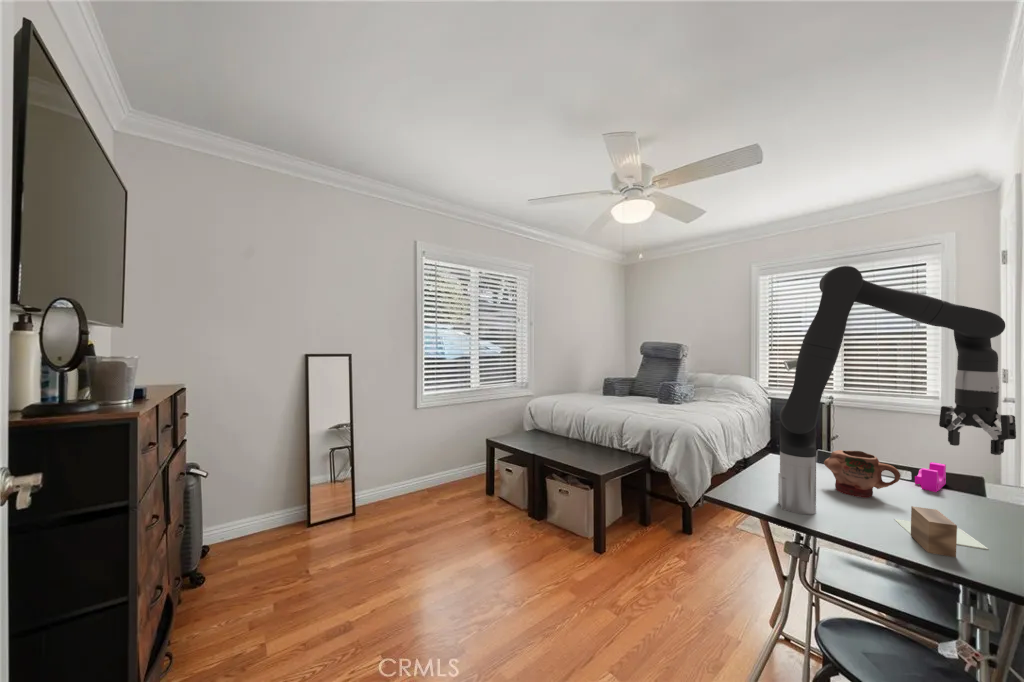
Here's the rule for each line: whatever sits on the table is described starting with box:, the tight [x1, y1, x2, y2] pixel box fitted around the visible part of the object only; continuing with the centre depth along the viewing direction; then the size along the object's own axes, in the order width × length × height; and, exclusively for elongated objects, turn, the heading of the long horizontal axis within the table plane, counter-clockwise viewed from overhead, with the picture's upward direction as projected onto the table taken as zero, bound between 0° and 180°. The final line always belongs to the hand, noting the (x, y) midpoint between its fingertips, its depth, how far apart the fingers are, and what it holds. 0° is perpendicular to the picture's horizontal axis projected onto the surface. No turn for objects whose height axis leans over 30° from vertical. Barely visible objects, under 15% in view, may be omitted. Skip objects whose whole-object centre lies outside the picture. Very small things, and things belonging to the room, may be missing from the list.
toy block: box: [914, 462, 947, 493], centre depth 146 cm, size 15×6×8 cm, turn 124°
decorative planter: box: [823, 449, 902, 499], centre depth 137 cm, size 20×12×14 cm, turn 42°
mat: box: [893, 518, 989, 551], centre depth 109 cm, size 14×12×1 cm
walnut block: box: [910, 505, 958, 558], centre depth 102 cm, size 5×9×8 cm, turn 155°
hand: (974, 449), depth 105 cm, fingers open, 8 cm apart
